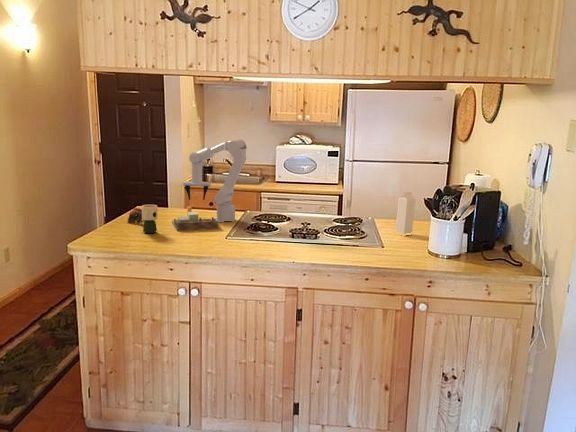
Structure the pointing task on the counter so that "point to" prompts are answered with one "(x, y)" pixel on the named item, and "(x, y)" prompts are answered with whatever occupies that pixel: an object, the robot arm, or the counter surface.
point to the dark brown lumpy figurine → (135, 215)
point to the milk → (405, 213)
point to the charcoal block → (183, 219)
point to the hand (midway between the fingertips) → (196, 199)
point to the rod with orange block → (192, 215)
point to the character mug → (149, 218)
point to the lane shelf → (196, 225)
